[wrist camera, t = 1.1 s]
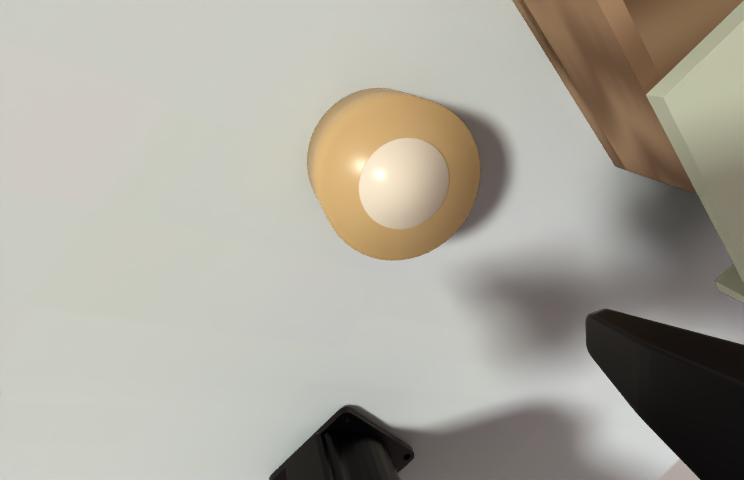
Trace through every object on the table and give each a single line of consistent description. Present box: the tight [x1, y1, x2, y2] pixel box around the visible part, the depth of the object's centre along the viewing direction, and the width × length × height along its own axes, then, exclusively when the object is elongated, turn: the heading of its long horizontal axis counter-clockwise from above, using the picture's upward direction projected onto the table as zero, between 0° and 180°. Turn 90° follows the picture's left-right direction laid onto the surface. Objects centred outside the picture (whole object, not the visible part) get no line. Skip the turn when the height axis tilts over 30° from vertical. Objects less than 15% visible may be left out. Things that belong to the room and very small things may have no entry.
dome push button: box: [307, 88, 481, 260], centre depth 20 cm, size 6×6×4 cm
